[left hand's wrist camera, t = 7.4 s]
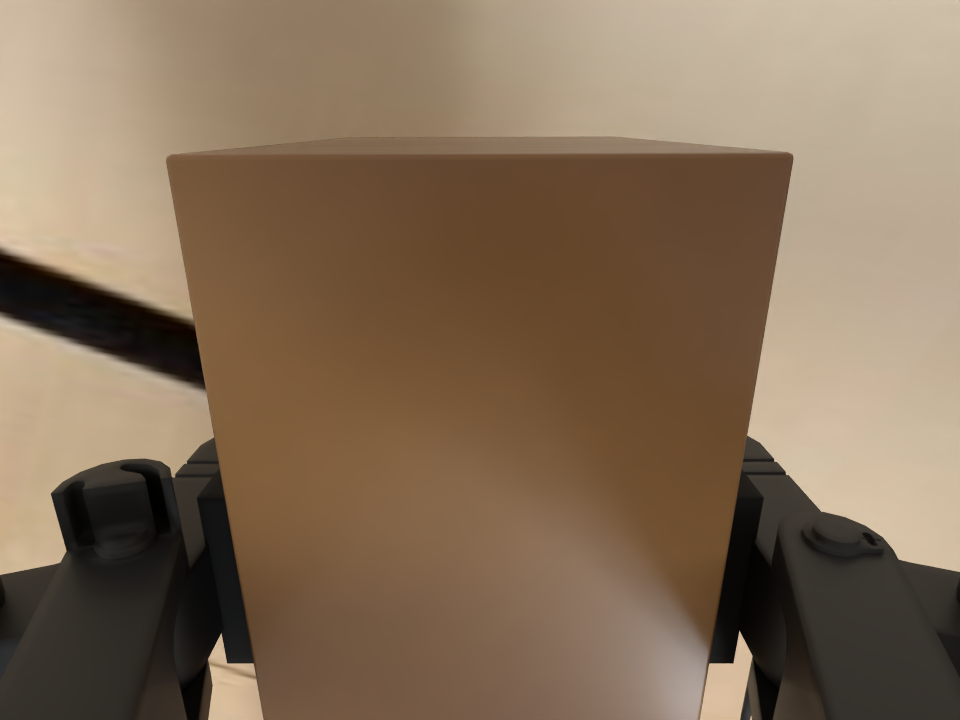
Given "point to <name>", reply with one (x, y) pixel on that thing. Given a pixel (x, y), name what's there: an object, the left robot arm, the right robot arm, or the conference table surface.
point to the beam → (480, 413)
